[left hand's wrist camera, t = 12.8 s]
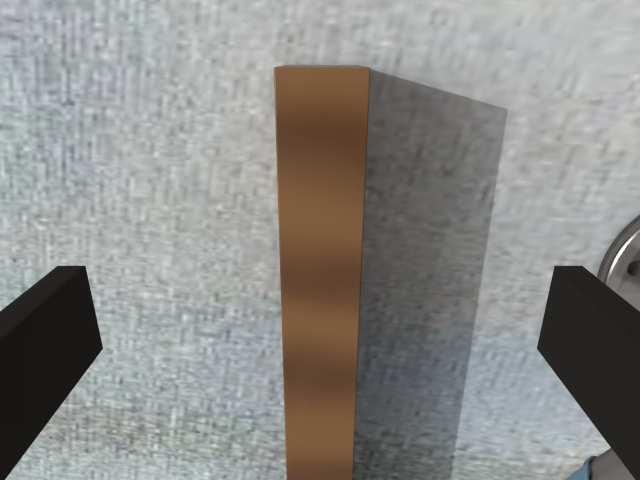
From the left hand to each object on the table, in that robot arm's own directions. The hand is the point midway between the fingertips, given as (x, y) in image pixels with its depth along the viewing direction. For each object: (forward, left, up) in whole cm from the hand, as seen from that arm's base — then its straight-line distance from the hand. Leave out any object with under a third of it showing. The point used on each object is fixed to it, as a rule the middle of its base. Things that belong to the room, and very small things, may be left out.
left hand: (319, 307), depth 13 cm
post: (+13, +22, -24) cm, 35 cm away
